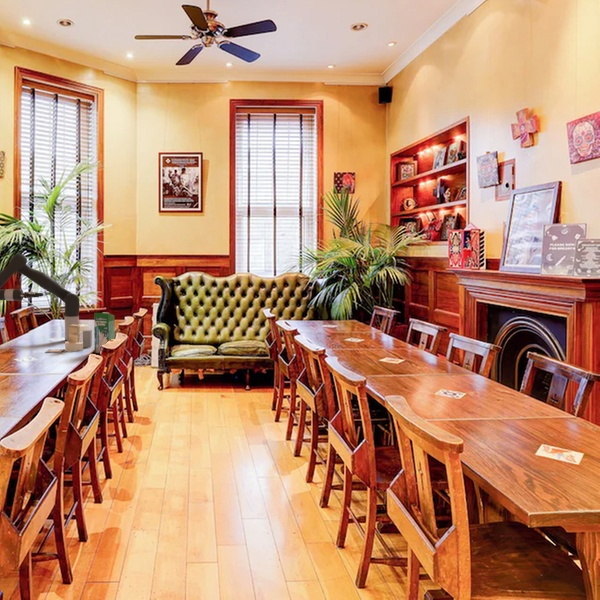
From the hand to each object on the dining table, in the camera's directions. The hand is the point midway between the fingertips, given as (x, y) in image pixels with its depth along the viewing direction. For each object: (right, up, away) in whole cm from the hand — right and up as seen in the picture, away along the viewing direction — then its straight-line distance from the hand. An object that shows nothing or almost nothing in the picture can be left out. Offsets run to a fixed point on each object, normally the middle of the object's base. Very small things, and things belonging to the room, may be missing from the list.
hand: (41, 295), depth 353 cm
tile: (+14, -35, -12) cm, 40 cm away
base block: (+23, -35, -4) cm, 42 cm away
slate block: (+27, -34, +8) cm, 44 cm away
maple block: (+23, -30, -5) cm, 38 cm away
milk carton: (+44, -36, -9) cm, 58 cm away
